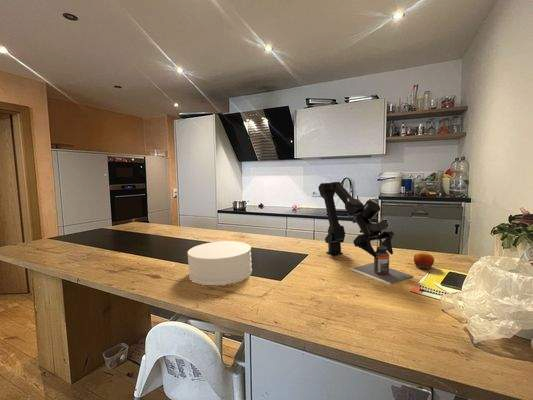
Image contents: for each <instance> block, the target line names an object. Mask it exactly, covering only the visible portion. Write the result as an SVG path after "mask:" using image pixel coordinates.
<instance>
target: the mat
mask: <svg viewBox="0 0 533 400" xmlns="http://www.w3.org/2000/svg"><path fill="white" fill-rule="evenodd" d="M349 271H352V272H354V273H357V274H359V275H362V276H364V277H367V278H370V279H372V280H374V281H376V282H379V283H382V284H384V285H386V286H390V285H393V284H396V283H399V282H402V281H405V280H409V279H410V278H413V277H414V275H412V274H409V273H406V272H402V271H399V270H397V269H394V268H391V267H389V274H387V275H379V274H376V273H375V272H374V262H371V263H366V264H364V265H360V266H356V267H353V268H349Z"/></svg>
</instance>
